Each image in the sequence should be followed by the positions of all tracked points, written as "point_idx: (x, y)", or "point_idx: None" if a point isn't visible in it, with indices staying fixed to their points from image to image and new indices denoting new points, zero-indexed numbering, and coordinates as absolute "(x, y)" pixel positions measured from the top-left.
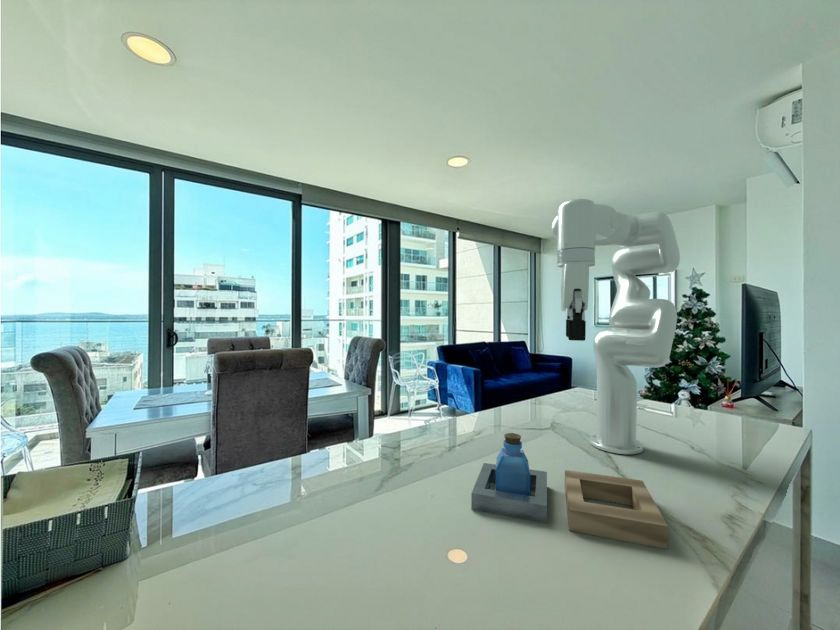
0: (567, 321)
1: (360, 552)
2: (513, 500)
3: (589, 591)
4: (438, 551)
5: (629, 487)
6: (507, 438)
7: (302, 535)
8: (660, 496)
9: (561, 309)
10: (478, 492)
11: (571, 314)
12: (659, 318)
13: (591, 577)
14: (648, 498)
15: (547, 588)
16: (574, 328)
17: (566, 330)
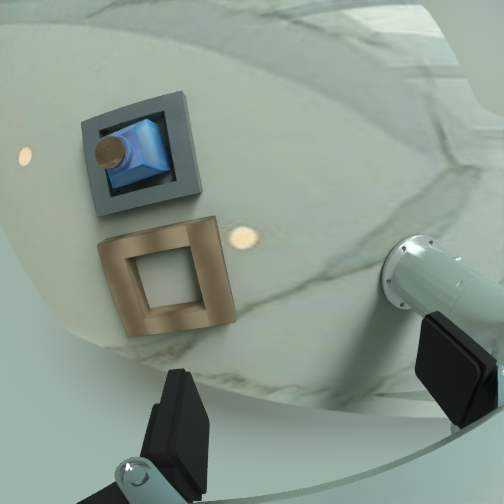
0: (473, 367)
1: (4, 90)
2: (89, 175)
3: (44, 265)
4: (22, 139)
5: (205, 307)
6: (96, 147)
7: (9, 40)
8: (254, 328)
9: (371, 479)
10: (85, 129)
11: (125, 496)
12: None
13: (57, 265)
14: (181, 326)
15: (30, 236)
16: (149, 435)
17: (446, 330)
